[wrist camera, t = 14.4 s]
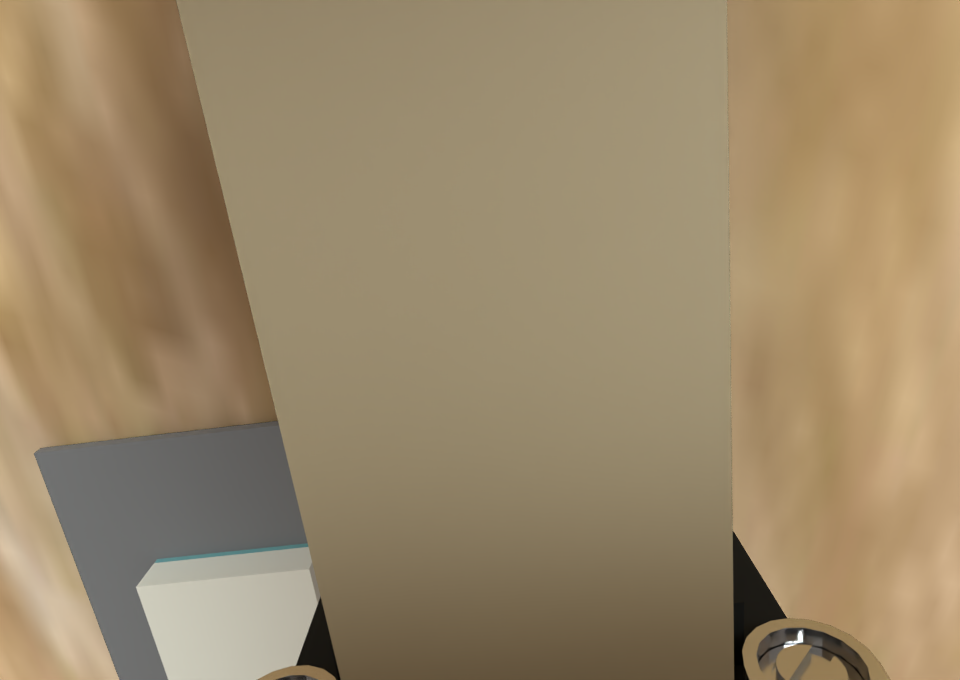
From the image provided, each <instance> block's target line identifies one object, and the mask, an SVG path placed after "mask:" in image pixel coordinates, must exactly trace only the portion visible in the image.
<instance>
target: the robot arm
mask: <svg viewBox="0 0 960 680" xmlns="http://www.w3.org/2000/svg"><path fill="white" fill-rule="evenodd" d="M733 615H734V680H890V678H889V676H888V675H887V673H886V671H885V670H884V668H883V666H882V665H881V663H880V662H879V661H878V660H877V658H876V657H875V656H874V655H873V653H872V652H871V651H870V650H869V649H868V648H867V647H866V646H865V645H863V644H862V643H861V642H859V641H858V640H857V639H855V638H854V637H853V636H851V635H850V634H847V633H845V632H843V631H841V630H839V629H837V628H835V627H833V626H831V625H827V624H824V623H820V622H816V621H813V620H807V619H794V618H787V617H786V616H785V614H784V612H783V611H782V609H781V608H780V606H779V604H778V603H777V601H776V599H775V598H774V596H773V595H772V593H771V591H770V590H769V588H768V587H767V585H766V583H765V582H764V580H763V578H762V577H761V575H760V574H759V572H758V570H757V569H756V567H755V566H754V564H753V562H752V561H751V559H750V557H749V556H748V554H747V553H746V551H745V549H744V548H743V546H742V545H741V543H740V541H739V540H738V538H737V536H736V535H735V533H734V532H733ZM257 680H341V678H340V674H339V670H338V666H337V662H336V658H335V654H334V650H333V645H332V641H331V637H330V633H329V629H328V625H327V621H326V617H325V613H324V608H323V604H322V600H321V596H320V599H319V602H318V605H317V608H316V610H315V613H314V616H313V619H312V622H311V624H310V627H309V630H308V633H307V636H306V638H305V641H304V644H303V647H302V650H301V653H300V655H299V658H298V661H297V664H296V666H290V667H286V668H283V669H279V670H276V671H273V672H271V673H269V674H267V675H265V676H263V677H261V678H259V679H257Z"/></svg>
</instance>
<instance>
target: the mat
mask: <svg viewBox="0 0 960 680" xmlns="http://www.w3.org/2000/svg"><path fill="white" fill-rule="evenodd" d="M34 455H35V458H36V460H37V463H38V466H39V468H40V471H41V473H42V476H43V479H44V481H45V484H46V487H47V489H48V492H49V495H50V497H51V500H52V502H53V505H54V508H55V510H56V513H57V516H58V518H59V521H60V524H61V526H62V529H63V532H64V534H65V537H66V539H67V542H68V545H69V547H70V550H71V553H72V555H73V558H74V561H75V563H76V566H77V569H78V571H79V574H80V576H81V579H82V582H83V584H84V587H85V590H86V592H87V595H88V598H89V600H90V603H91V605H92V608H93V611H94V613H95V616H96V619H97V621H98V624H99V627H100V629H101V632H102V635H103V637H104V640H105V642H106V645H107V648H108V650H109V653H110V656H111V658H112V661H113V664H114V666H115V669H116V672H117V674H118V677H119V679H120V680H168V678H167V675H166V672H165V669H164V666H163V663H162V660H161V657H160V655H159V652H158V649H157V646H156V643H155V640H154V637H153V635H152V632H151V629H150V626H149V623H148V620H147V617H146V615H145V612H144V609H143V606H142V603H141V600H140V597H139V595H138V592H137V589H136V586H137V585H138V584H139V582H140V581H141V580H142V578H143V577H144V576H145V574H146V573H147V572H148V571H149V569H150V568H151V567H152V565H153V564H154V563H155V561H156V560H157V559H164V558H173V557H183V556H192V555H202V554H211V553H220V552H230V551H239V550H249V549H258V548H268V547H277V546H287V545H296V544H306V543H307V538H306V534H305V530H304V526H303V522H302V518H301V514H300V510H299V505H298V501H297V497H296V493H295V489H294V485H293V481H292V477H291V472H290V468H289V464H288V460H287V456H286V452H285V448H284V444H283V440H282V435H281V431H280V427H279V423H278V421H273V422H264V423H256V424H247V425H238V426H229V427H221V428H212V429H203V430H195V431H186V432H177V433H168V434H160V435H151V436H142V437H133V438H125V439H116V440H107V441H99V442H90V443H81V444H72V445H64V446H55V447H46V448H40V449H39V450H38V451H36V452H35V453H34Z"/></svg>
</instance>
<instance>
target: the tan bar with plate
mask: <svg viewBox="0 0 960 680" xmlns="http://www.w3.org/2000/svg"><path fill="white" fill-rule="evenodd" d="M176 3H177V7H178V11H179V15H180V19H181V24H182V28H183V32H184V36H185V40H186V44H187V48H188V52H189V56H190V61H191V65H192V69H193V73H194V77H195V81H196V85H197V89H198V94H199V98H200V102H201V106H202V110H203V114H204V118H205V122H206V126H207V131H208V135H209V139H210V143H211V147H212V151H213V155H214V159H215V164H216V168H217V172H218V176H219V180H220V184H221V188H222V192H223V197H224V201H225V205H226V209H227V213H228V217H229V221H230V225H231V229H232V234H233V238H234V242H235V246H236V250H237V254H238V258H239V262H240V267H241V271H242V275H243V279H244V283H245V287H246V291H247V295H248V299H249V304H250V308H251V312H252V316H253V320H254V324H255V328H256V332H257V337H258V341H259V345H260V349H261V353H262V357H263V361H264V365H265V370H266V374H267V378H268V382H269V386H270V390H271V394H272V398H273V402H274V407H275V411H276V415H277V419H278V423H279V427H280V431H281V435H282V440H283V444H284V448H285V452H286V456H287V460H288V464H289V468H290V472H291V477H292V481H293V485H294V489H295V493H296V497H297V501H298V505H299V510H300V514H301V518H302V522H303V526H304V530H305V534H306V538H307V543H308V547H309V551H310V555H311V559H312V563H313V567H314V571H315V575H316V580H317V584H318V588H319V592H320V596H321V600H322V604H323V608H324V613H325V617H326V621H327V625H328V629H329V633H330V637H331V641H332V645H333V650H334V654H335V658H336V662H337V666H338V670H339V674H340V678H341V680H734V615H733V522H732V428H731V334H730V240H729V146H728V52H727V0H176Z"/></svg>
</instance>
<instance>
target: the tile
mask: <svg viewBox="0 0 960 680" xmlns="http://www.w3.org/2000/svg"><path fill="white" fill-rule="evenodd" d="M136 589H137V592H138V595H139V597H140V600H141V603H142V606H143V609H144V612H145V615H146V617H147V620H148V623H149V626H150V629H151V632H152V635H153V637H154V640H155V643H156V646H157V649H158V652H159V655H160V657H161V660H162V663H163V666H164V669H165V672H166V675H167V678H168V680H257V679H259V678H261V677H263V676H265V675H267V674H269V673H271V672H273V671H276V670H279V669H283V668H286V667H290V666H296V664H297V661H298V658H299V655H300V653H301V650H302V647H303V644H304V641H305V638H306V636H307V633H308V630H309V627H310V624H311V622H312V619H313V616H314V613H315V610H316V608H317V605H318V602H319V599H320V592H319V588H318V584H317V580H316V575H315V571H314V567H313V563H312V559H311V555H310V551H309V547H308V543H306V544H296V545H287V546H277V547H268V548H258V549H249V550H239V551H230V552H220V553H211V554H202V555H192V556H183V557H173V558H164V559H157V560H156V561H155V563H154V564H153V565H152V567H151V568H150V569H149V571H148V572H147V573H146V574H145V576H144V577H143V578H142V580H141V581H140V582H139V584H138V585H137V586H136Z"/></svg>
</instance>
